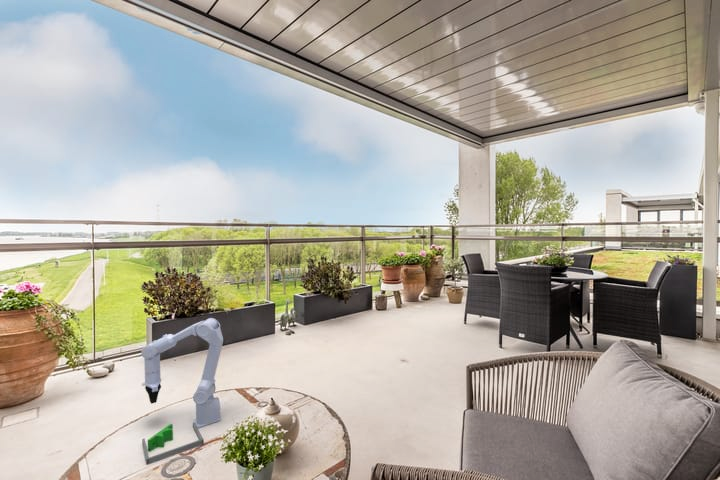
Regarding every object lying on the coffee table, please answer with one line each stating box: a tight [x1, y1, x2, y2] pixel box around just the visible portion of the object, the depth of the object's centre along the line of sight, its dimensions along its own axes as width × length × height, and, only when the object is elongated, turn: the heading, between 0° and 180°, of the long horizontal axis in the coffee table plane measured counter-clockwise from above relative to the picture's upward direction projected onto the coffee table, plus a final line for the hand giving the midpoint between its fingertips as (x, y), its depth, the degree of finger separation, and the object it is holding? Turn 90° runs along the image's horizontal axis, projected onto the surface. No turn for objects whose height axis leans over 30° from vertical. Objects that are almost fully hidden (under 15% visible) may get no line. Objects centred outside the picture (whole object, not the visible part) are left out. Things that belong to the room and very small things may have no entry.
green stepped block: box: [147, 423, 174, 453], centre depth 133 cm, size 11×4×5 cm, turn 168°
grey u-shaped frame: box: [141, 421, 205, 465], centre depth 132 cm, size 19×16×2 cm
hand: (153, 402), depth 146 cm, fingers closed
